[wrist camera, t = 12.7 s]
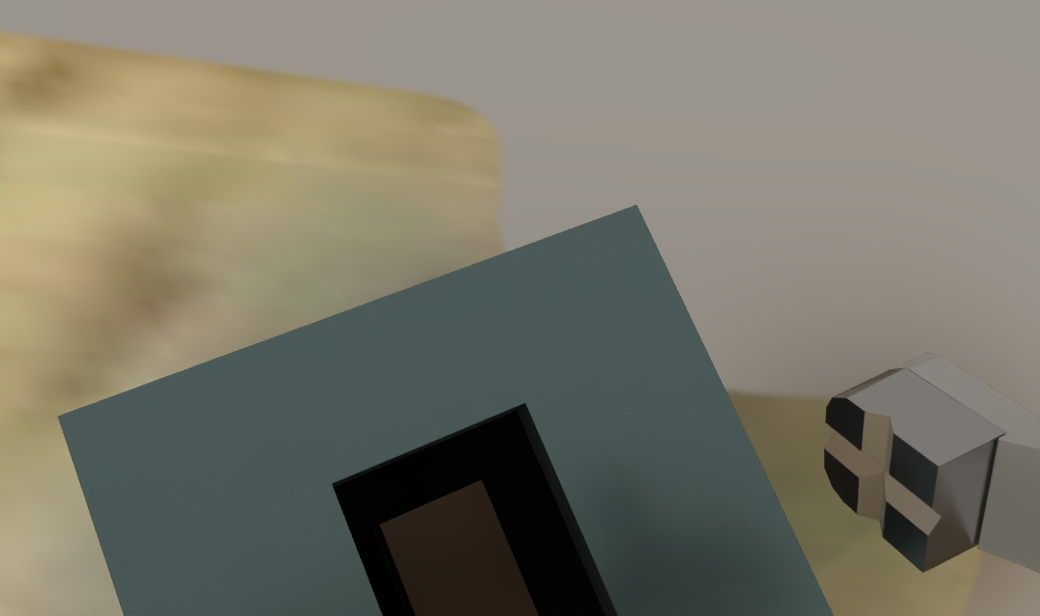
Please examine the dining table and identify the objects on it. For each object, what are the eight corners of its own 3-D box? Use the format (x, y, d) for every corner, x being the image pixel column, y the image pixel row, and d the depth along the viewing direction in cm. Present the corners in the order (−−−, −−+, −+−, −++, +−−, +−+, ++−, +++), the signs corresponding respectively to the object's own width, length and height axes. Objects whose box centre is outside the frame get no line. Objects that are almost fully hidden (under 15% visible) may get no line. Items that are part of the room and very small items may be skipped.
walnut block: (500, 621, 27) (551, 647, 20) (424, 658, 26) (448, 699, 19) (449, 498, 27) (481, 479, 20) (374, 531, 27) (379, 524, 20)
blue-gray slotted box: (692, 677, 27) (900, 756, 17) (321, 877, 24) (294, 1128, 14) (537, 327, 29) (636, 204, 19) (177, 469, 26) (57, 416, 16)
